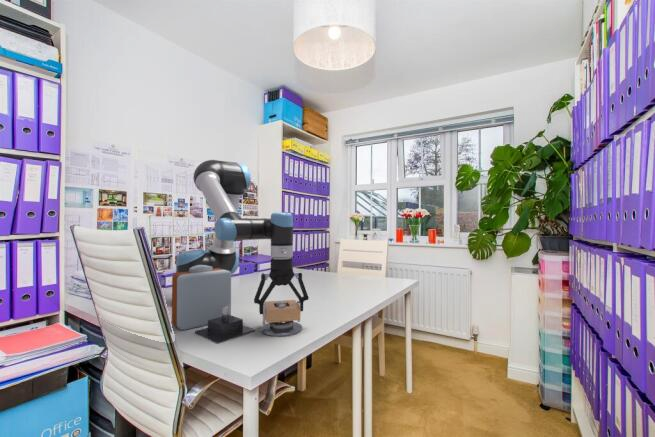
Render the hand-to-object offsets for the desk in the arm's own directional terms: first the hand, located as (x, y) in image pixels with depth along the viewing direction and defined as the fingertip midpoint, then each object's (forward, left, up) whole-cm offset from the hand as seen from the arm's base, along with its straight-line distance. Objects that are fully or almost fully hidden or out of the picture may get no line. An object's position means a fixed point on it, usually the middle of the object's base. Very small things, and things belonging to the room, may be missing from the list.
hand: (281, 322), depth 107 cm
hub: (0, 0, -2) cm, 2 cm away
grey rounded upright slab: (-27, -14, -3) cm, 31 cm away
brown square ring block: (0, 0, +2) cm, 2 cm away
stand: (-12, -14, -2) cm, 19 cm away
